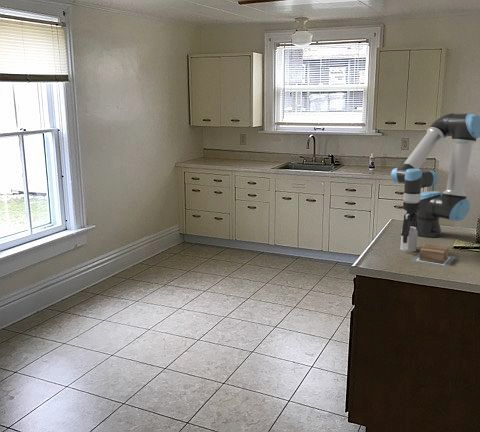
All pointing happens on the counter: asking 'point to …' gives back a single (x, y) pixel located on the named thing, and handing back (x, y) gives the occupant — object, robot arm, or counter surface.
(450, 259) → the grey flat plate
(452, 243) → the counter surface
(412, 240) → the can
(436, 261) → the walnut block
